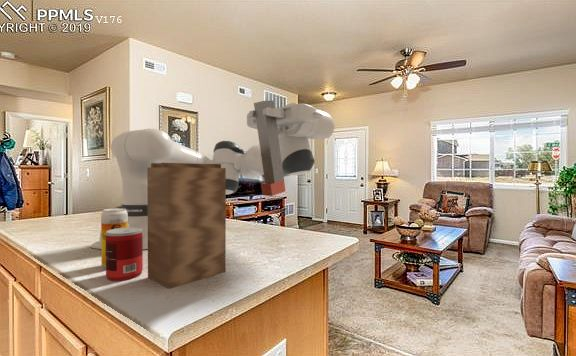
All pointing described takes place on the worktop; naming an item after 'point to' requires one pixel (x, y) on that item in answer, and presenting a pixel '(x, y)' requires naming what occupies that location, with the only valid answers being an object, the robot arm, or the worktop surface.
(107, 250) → the canned food
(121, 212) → the beer can
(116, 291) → the worktop surface
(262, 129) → the metal block
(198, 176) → the wooden slab
